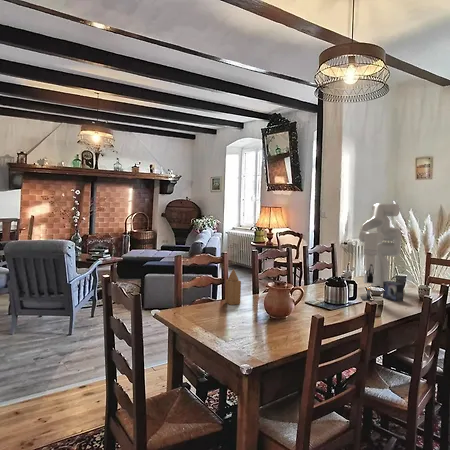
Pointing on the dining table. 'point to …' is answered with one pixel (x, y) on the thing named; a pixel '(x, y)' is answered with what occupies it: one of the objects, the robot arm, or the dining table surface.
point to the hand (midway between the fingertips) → (369, 281)
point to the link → (366, 278)
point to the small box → (393, 291)
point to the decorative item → (233, 289)
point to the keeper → (366, 296)
